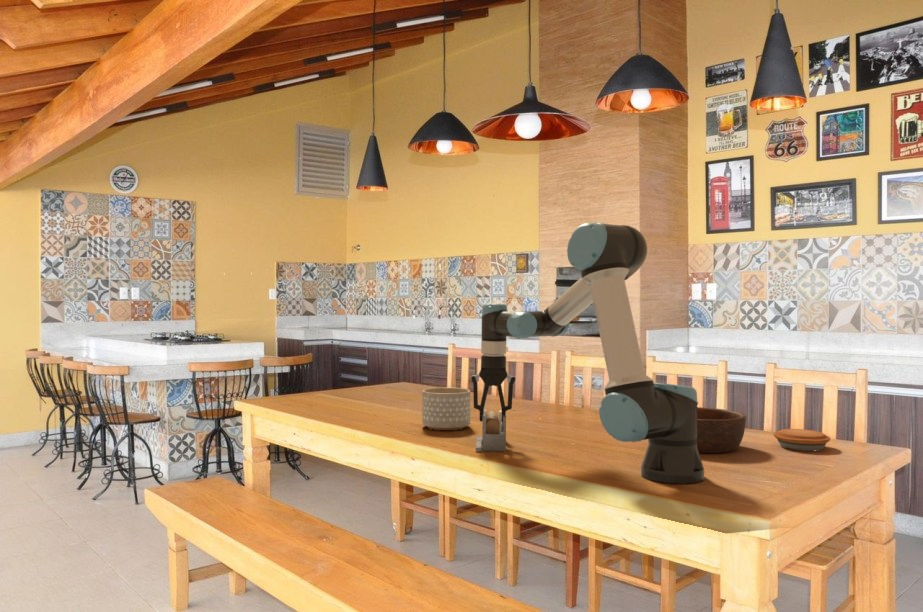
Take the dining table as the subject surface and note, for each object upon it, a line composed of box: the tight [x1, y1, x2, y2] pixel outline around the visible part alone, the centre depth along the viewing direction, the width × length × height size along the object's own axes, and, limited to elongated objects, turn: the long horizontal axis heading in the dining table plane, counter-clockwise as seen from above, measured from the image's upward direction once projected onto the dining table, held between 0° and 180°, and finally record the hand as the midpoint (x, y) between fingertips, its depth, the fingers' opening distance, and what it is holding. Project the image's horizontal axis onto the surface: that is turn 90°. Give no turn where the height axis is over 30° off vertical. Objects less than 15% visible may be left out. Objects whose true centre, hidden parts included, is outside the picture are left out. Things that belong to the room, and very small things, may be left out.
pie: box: [772, 428, 831, 452], centre depth 216 cm, size 15×16×5 cm
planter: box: [421, 387, 471, 431], centre depth 247 cm, size 16×16×13 cm
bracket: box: [475, 407, 507, 453], centre depth 217 cm, size 19×9×10 cm, turn 178°
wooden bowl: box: [697, 406, 747, 454], centre depth 216 cm, size 25×25×10 cm
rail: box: [486, 410, 500, 435], centre depth 217 cm, size 19×4×4 cm, turn 178°
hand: (492, 432), depth 217 cm, fingers open, 4 cm apart
